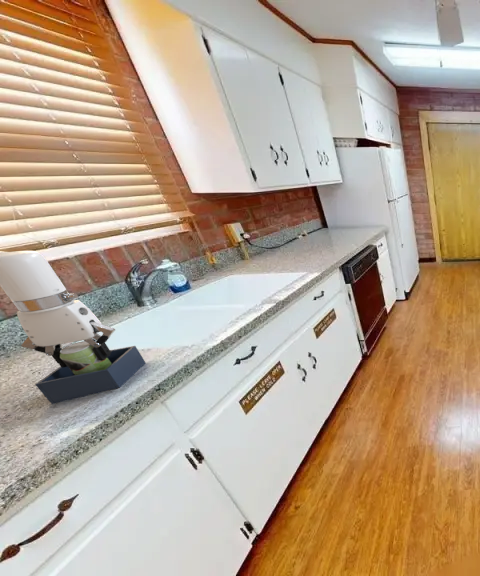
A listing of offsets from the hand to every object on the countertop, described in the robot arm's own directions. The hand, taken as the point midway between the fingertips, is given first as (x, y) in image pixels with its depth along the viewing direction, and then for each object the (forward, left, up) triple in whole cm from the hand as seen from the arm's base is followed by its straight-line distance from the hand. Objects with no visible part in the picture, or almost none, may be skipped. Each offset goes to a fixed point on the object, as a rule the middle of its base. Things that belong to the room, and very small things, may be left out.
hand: (87, 360), depth 79 cm
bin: (0, 0, -8) cm, 8 cm away
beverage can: (0, 0, -7) cm, 7 cm away
